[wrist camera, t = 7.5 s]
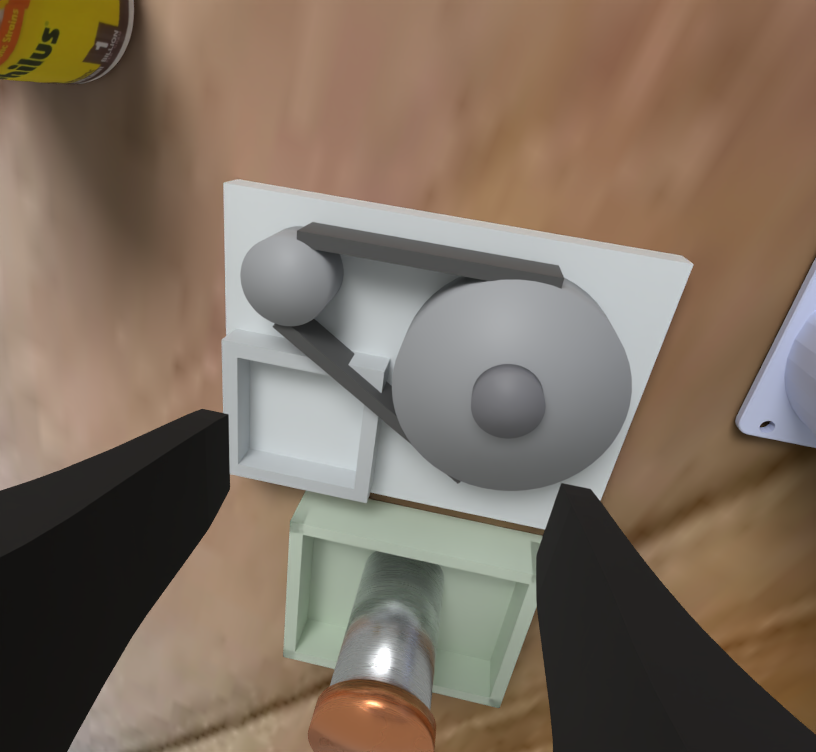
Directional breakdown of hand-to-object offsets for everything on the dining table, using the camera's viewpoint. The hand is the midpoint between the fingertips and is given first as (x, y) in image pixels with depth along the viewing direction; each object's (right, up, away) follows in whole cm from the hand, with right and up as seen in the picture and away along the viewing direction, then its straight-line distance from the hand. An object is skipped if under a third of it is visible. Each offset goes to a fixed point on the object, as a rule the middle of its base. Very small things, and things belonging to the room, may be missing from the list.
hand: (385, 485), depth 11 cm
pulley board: (+1, +3, +10) cm, 11 cm away
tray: (+1, -8, +15) cm, 17 cm away
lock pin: (0, -7, +15) cm, 17 cm away
